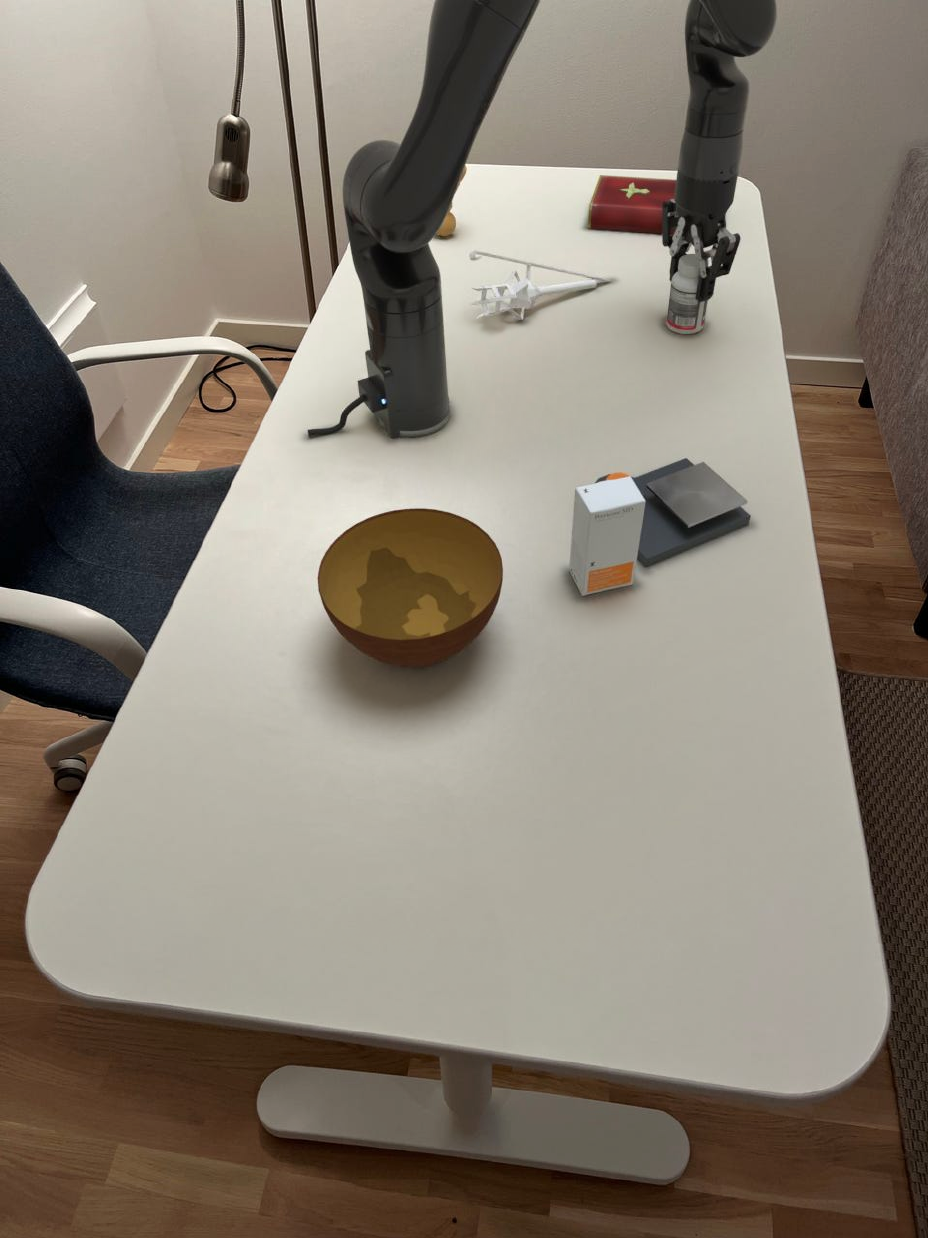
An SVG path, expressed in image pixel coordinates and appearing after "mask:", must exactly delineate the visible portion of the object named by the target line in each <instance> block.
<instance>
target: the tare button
mask: <svg viewBox="0 0 928 1238" xmlns="http://www.w3.org/2000/svg"><path fill="white" fill-rule="evenodd" d="M609 474H610V475H609V476H608V477H607V479H606V480H615V479H620V478H624V477H629V476H630V475H629V474H627V473H625V472H612V473H609Z"/></svg>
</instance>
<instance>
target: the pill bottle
mask: <svg viewBox="0 0 928 1238" xmlns="http://www.w3.org/2000/svg"><path fill="white" fill-rule="evenodd" d="M686 254H687V255H684V256H682V257H681V258H680V259H679V264H678V272H676V273H675V274H674V275H673V277H672V281H670V290H669V297H668V305H667V311H666V312H667V313H666V320H665V321H666V323H665V324H666V326H667V328H668V329H669V330H670V331H672V332H673V333H677V334H681V335H692V334H696V333H698V332H700V331H701V330H702V329H703V328H704V327H705V321H706V317H707V316H706V315H707V310H708V309H707V308H708V304H709V303H708V302H709V300H706V301H703V302H699V301H697V300H696V292H697V285H698V279H699V275H700V266H699V260H697V259H696V257H695V253H686ZM709 262H710V261H709V260H708V265H709V264H710V263H709Z"/></svg>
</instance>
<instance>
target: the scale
mask: <svg viewBox="0 0 928 1238" xmlns="http://www.w3.org/2000/svg"><path fill="white" fill-rule="evenodd" d="M694 465H695V464H694V463H693V462H692V461H690V459H688V458H687V457H685V458H682V459H679V460H677V461H675V462H672V463H669V464H667V465H664V466H660V467H659V468H656V469H654V470H651V471H649V472H646V473H643V474H641V475H638V476H635V477H634V476H631V475H629V476H630V477H631V478H632V479H633V481H634V483H635V484H636V486H637V488H638V489H639V491H640V493H641V494H642V496H643V498H644V499H645V501H646V502H645V509H644V515H643V522H642V529H641V535H640V541H639V548H638V555H637V561H639V562H640V563H641V564H642V566H643V567H644V568H649V567H651V566H653V565H656V564H659V563H661V562H662V561H665V560H667V559H669V558H672V557H674V556H677V555H679V554H682V553H684V552H686V551H689V550H691V549H694V548H696V547H698V546H701V545H703V544H705V543H707V542H710V541H712V540H715V539H718V538H720V537H722V536H725V535H728V534H729V533H731V532H734V531H737V530H739V529H741V528H743V527H746V526H748V525H749V524H750V520H751V516H752V515H751V514H750V513H749V512H748V511H746V510H745V509H744V508H743V507H742V506H740V507H737V508H735V509H733V510H730V511H728V512H725V513H723V514H720V515H718V516H716V517H713V518H711V519H708V520H706V521H703V522H701V523H698V524H696V525H694V526H691V527H689V528H688V527H687V526H686V525H685V524H684V523H683V522H682V521H681V520H680V519H679V518H678V517H677V516H676V515H675V514H673V513H672V512H671V511H670V510H669V509H668V508H667V507H666V506H665V505H664V504H663V503H662V502H661V501H660V500H659V499H658V498H657V497H656V496H655V495H654V494H653V493H652V492H651V491H650V490H649V489H648V488H647V487H646V484H647V483H650V482H653V481H655V480H658V479H660V478H663V477H665V476H668V475H671V474H673V473H676V472H678V471H681V470H683V469H686V468H689V467H691V466H694ZM610 474H611V473H608V474H605V475H604V476H601V477H598V478H597V479H596V481H594V483H593V484H595V483H598V482H601V481H606V479H607V477H608V476H609V475H610Z"/></svg>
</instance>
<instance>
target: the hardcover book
mask: <svg viewBox="0 0 928 1238" xmlns="http://www.w3.org/2000/svg"><path fill="white" fill-rule="evenodd" d="M675 187H676V179H672V178H669V179H668V178H654V177H640V176H639V177H637V176H623V175H608V174H607V175H604V174H600V175H599V176H598V180H597V182H596V186H595V188H594V191H593V193H592V196H591V200H590V202H589V204H588V216H587V217H588V218H587V229H590V230H604V231H616V232H629V233H644V234H645V233H646V234H658V235H662V204H663V202H664V201H667V200H671V199H674V195H675ZM671 235H674V227H672V228H671V229H670V236H671Z"/></svg>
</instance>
